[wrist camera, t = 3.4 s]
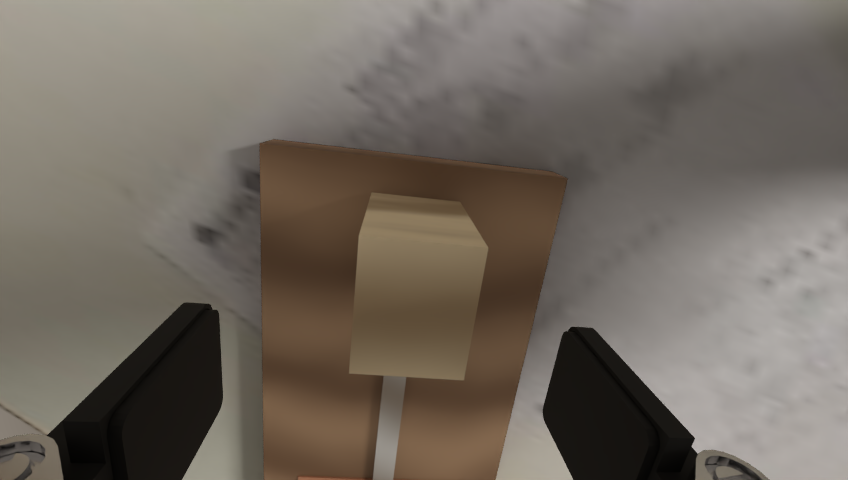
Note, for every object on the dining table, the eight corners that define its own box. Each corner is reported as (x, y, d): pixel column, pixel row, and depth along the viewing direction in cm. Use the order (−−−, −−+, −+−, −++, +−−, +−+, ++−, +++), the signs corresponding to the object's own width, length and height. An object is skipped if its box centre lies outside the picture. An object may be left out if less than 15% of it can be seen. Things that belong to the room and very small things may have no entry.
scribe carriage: (371, 192, 18) (358, 235, 12) (460, 201, 18) (488, 247, 12) (362, 304, 19) (347, 388, 14) (443, 310, 20) (461, 394, 14)
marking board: (273, 139, 19) (255, 144, 17) (552, 171, 20) (572, 180, 18) (274, 501, 27) (261, 539, 24) (476, 507, 28) (483, 544, 26)
